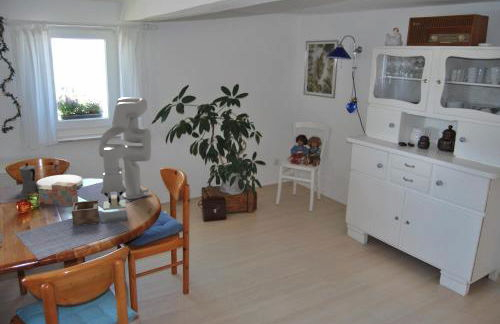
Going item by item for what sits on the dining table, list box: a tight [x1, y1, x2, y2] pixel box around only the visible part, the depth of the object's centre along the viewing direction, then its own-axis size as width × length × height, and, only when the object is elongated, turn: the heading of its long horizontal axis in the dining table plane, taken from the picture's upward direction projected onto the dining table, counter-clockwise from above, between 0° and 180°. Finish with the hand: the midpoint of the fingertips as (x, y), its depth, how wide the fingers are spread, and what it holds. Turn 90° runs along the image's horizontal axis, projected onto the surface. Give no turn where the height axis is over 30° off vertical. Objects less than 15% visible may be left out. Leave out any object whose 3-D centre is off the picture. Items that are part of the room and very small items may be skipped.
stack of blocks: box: [37, 182, 79, 207], centre depth 241 cm, size 21×6×12 cm, turn 78°
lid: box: [102, 194, 127, 211], centre depth 221 cm, size 11×11×5 cm
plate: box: [36, 174, 84, 188], centre depth 270 cm, size 28×6×27 cm
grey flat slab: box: [100, 209, 128, 224], centre depth 223 cm, size 13×14×1 cm
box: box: [71, 199, 100, 227], centre depth 218 cm, size 12×13×8 cm
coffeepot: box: [18, 162, 39, 193], centre depth 260 cm, size 15×9×18 cm, turn 53°
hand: (114, 203), depth 221 cm, fingers closed on lid, 3 cm apart
